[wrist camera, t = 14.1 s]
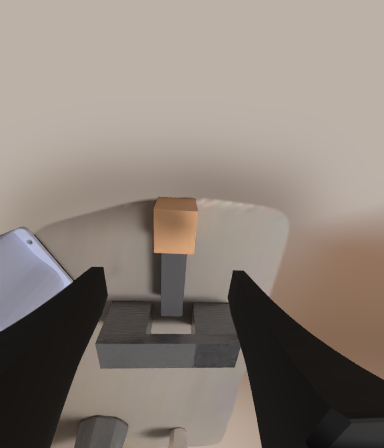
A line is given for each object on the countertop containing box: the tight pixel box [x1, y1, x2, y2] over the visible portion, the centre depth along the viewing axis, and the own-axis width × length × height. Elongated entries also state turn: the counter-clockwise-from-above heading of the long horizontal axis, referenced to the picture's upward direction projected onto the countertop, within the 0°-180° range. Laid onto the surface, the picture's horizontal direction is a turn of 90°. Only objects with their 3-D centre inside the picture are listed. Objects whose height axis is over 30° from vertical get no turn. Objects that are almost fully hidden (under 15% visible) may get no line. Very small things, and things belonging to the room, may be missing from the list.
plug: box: [154, 197, 198, 316], centre depth 19 cm, size 12×3×3 cm, turn 176°
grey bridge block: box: [95, 301, 241, 369], centre depth 22 cm, size 4×14×5 cm, turn 86°
